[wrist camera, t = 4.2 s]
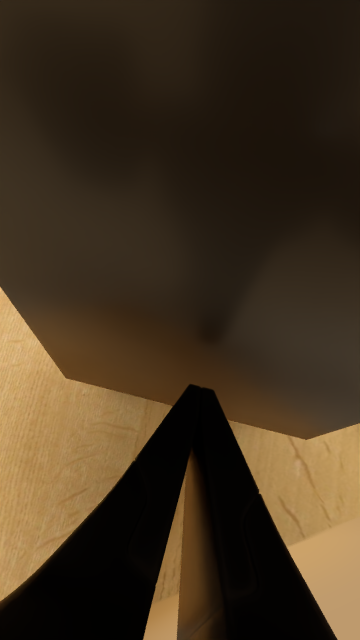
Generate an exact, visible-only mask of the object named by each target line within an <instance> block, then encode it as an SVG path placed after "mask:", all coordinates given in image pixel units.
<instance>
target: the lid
mask: <svg viewBox="0 0 360 640" xmlns="http://www.w3.org/2000/svg"><path fill="white" fill-rule="evenodd" d="M0 287H1V288H2V290H3V291H4V293H5V294H6V295H7V297H8V298H9V299H10V301H11V302H12V304H13V305H14V306H15V308H16V309H17V311H18V312H19V313H20V315H21V316H22V318H23V319H24V320H25V322H26V323H27V325H28V326H29V327H30V329H31V330H32V332H33V333H34V334H35V336H36V337H37V339H38V340H39V341H40V343H41V344H42V345H43V347H44V348H45V350H46V351H47V352H48V354H49V355H50V357H51V358H52V359H53V361H54V362H55V364H56V365H57V366H58V368H59V369H60V371H61V372H62V373H63V375H64V376H65V378H67V379H71V380H75V381H79V382H83V383H87V384H91V385H95V386H99V387H103V388H106V389H110V390H114V391H118V392H122V393H126V394H130V395H134V396H138V397H142V398H145V399H149V400H153V401H157V402H161V403H165V404H169V405H173V406H174V404H175V403H176V402H177V400H178V399H179V397H180V396H181V395H182V393H183V392H184V391H185V389H186V388H187V386H188V385H189V384H194V385H198V386H200V387H201V388H202V387H206V388H210V389H213V390H214V391H215V394H216V396H217V398H218V400H219V403H220V405H221V407H222V409H223V411H224V414H225V416H226V418H227V420H231V421H235V422H239V423H243V424H247V425H251V426H255V427H259V428H262V429H266V430H270V431H274V432H278V433H282V434H286V435H290V436H294V437H298V438H301V439H305V440H307V439H311V438H314V437H317V436H320V435H323V434H326V433H329V432H333V431H336V430H339V429H342V428H345V427H348V426H352V425H355V424H358V423H360V0H0Z"/></svg>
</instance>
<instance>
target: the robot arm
mask: <svg viewBox="0 0 360 640" xmlns="http://www.w3.org/2000/svg"><path fill="white" fill-rule="evenodd" d="M185 472H186V482H185V500H184V518H183V537H182V555H181V573H180V591H179V610H178V629H177V640H337V638H336V636H335V634H334V633H333V631H332V629H331V627H330V626H329V624H328V622H327V620H326V618H325V617H324V615H323V613H322V611H321V609H320V607H319V606H318V604H317V602H316V600H315V598H314V597H313V595H312V593H311V591H310V589H309V588H308V586H307V584H306V582H305V580H304V579H303V577H302V575H301V573H300V571H299V569H298V568H297V566H296V564H295V562H294V560H293V559H292V557H291V555H290V553H289V551H288V549H287V547H286V545H285V543H284V542H283V540H282V538H281V536H280V534H279V532H278V530H277V528H276V526H275V524H274V522H273V520H272V517H271V515H270V513H269V511H268V509H267V507H266V505H265V502H264V500H263V498H262V496H261V494H259V489H258V487H257V485H256V482H255V480H254V478H253V476H252V474H251V471H250V469H249V467H248V465H247V463H246V460H245V458H244V456H243V454H242V451H241V449H240V447H239V445H238V443H237V440H236V438H235V436H234V434H233V431H232V429H231V427H230V425H229V423H228V420H227V418H226V416H225V414H224V411H223V409H222V407H221V405H220V403H219V400H218V398H217V396H216V394H215V391H214V390H213V389H210V388H206V387H202V388H201V387H200V386H198V385H194V384H189V385H188V386H187V388H186V389H185V391H184V392H183V393H182V395H181V396H180V397H179V399H178V400H177V402H176V403H175V404H174V406H173V407H172V408H171V410H170V411H169V413H168V414H167V415H166V417H165V418H164V419H163V421H162V422H161V424H160V425H159V426H158V428H157V429H156V430H155V432H154V433H153V435H152V436H151V437H150V439H149V440H148V442H147V443H146V444H145V446H144V447H143V448H142V450H141V451H140V453H139V454H138V455H137V457H136V458H135V461H133V462H132V463H131V465H130V466H129V467H128V469H127V470H126V472H125V473H124V474H123V475H122V477H121V478H120V479H119V481H118V482H117V483H116V484H115V486H114V487H113V488H112V490H111V491H110V492H109V493H108V494H107V495H106V496H105V498H104V499H103V500H102V501H101V502H100V503H99V504H98V506H97V507H96V508H95V509H94V510H93V511H92V512H91V513H90V514H89V515H88V516H87V518H86V519H85V520H84V521H83V522H82V523H81V524H80V525H79V526H78V527H77V528H76V529H75V531H74V532H73V533H72V534H71V535H70V536H69V537H68V538H67V539H66V540H65V541H64V542H63V544H62V545H61V546H60V547H59V548H58V549H57V550H56V551H55V552H54V553H53V554H52V555H51V556H50V557H49V558H48V559H47V560H46V562H45V563H44V564H43V565H42V566H41V567H40V568H39V569H38V570H37V571H36V572H35V573H33V574H32V575H31V576H30V577H29V578H28V579H27V580H26V581H25V582H24V583H23V584H21V585H20V586H19V587H18V588H17V589H16V590H15V591H13V592H12V593H11V594H9V595H8V596H7V597H6V598H4V599H3V600H2V601H0V640H143V638H144V633H145V629H146V624H147V620H148V616H149V612H150V608H151V604H152V600H153V596H154V592H155V588H156V586H155V585H156V583H157V580H158V576H159V573H160V569H161V565H162V561H163V557H164V553H165V549H166V545H167V542H168V538H169V534H170V530H171V526H172V522H173V518H174V514H175V511H176V507H177V503H178V499H179V495H180V491H181V487H182V484H183V480H184V476H185Z"/></svg>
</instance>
